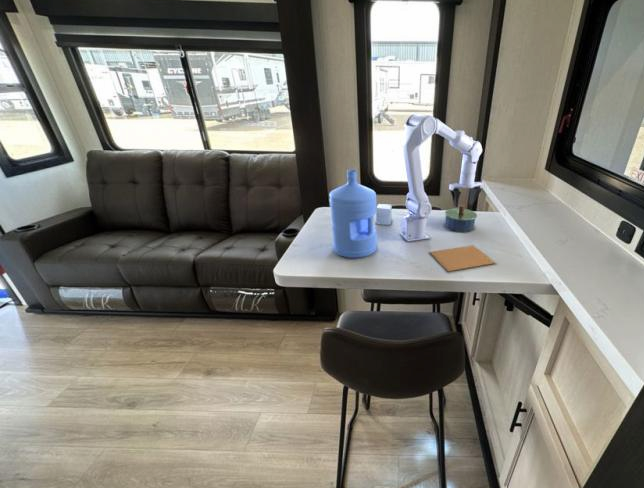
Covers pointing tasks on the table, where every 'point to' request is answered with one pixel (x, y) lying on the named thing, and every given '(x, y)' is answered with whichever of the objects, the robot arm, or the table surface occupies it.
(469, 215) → the lid
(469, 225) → the tin
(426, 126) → the robot arm
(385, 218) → the product box
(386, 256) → the table surface
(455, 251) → the mat
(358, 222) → the water jug
